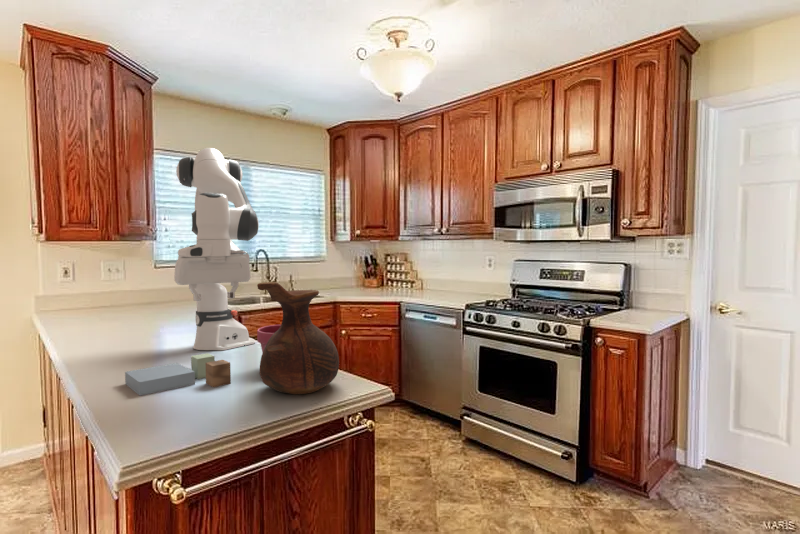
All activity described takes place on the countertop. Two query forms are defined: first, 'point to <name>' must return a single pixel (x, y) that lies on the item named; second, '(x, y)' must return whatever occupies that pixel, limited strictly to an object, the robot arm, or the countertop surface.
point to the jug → (297, 346)
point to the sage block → (200, 364)
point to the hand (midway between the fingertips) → (214, 299)
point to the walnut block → (218, 373)
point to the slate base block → (159, 378)
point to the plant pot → (266, 334)
